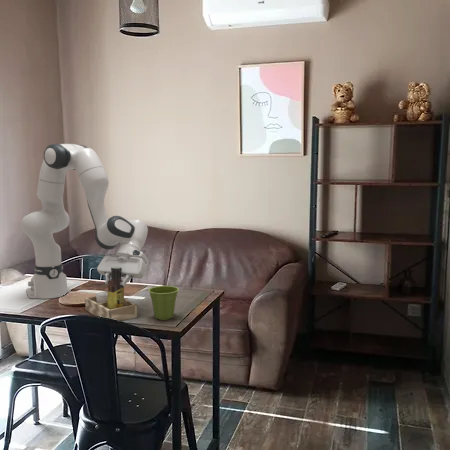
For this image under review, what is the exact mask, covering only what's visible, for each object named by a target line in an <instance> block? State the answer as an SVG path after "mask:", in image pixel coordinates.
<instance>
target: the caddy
mask: <svg viewBox="0 0 450 450" xmlns="http://www.w3.org/2000/svg"><path fill="white" fill-rule="evenodd" d="M107 304H108V302H103V303H97V300H96V295H95V296H89V297H85V298H84V305H85V307H84V308H85V309H84V310H85V311H87V312H88V313H90V314H92V315H94V316H95V317H97V316H101V317H106V318H110V319H116V320H121V321H120V322H122V321H127V320H130V319H135V318H138V304H136V303H134V302H132V301H130V300H128V299H126V298H124V307H120V308H116V309H111V310H110V309H108V308H107Z"/></svg>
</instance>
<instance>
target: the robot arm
mask: <svg viewBox="0 0 450 450" xmlns="http://www.w3.org/2000/svg"><path fill="white" fill-rule="evenodd" d="M70 170H73V171H75V172H76V173H77V176H78V178H79V181H80V183H81V186H82V189H83V191H84V195H85V199H86V202H87V207H88V210H89V213H90V217H91V219H92V222H93V224H94V228H95V229H94V230H95V241H96V243H97V245H98V246H99V247H100V248H102V249H104V250H114V249H115V248H117V247H118V245H119V247H118V249H117V251H116V253H115V254H111V253H108V254H106V255H104V256H103V258H102V259H101V261H100V262H99V264H98V265H97V267H96V269H97V272H98V273H99V274H100V275H101V276H105V281H104V284H105V285H106V286H108V284H109V282H110V280H111V267H114V266H119V267H121V268H122V271H121V278H124V279H122V280H121V283H120V285H121V286H124V287H126V285H127V283H129V282H130V281H131V279H140V280H141V279H142V278H144V277H145V274H146V272H147V268H148V267H147V266H148V263H149V259H148V258H147V256H146V255H145V253H144V252H143V251H141V250H142V248H143V247H144V245H145V243H146V240H147V236H148V232H149V227H148V226H147V224H146V223H145V222H144V221H142V220H141V219H137V218H134V219H128V218H125V217H123V216H121V215H112V216H111V217H109V218H108V213H107V211H106V208H105V197H106V194H107V191H108V188H109V183H110V181H109V177H108V174H107V170H106V168H105V166H104V165H103V163H102V160H101V158H100V157H99V155H98V154H97V152H96V151H95V150H94V149H92V148H91V147H88V146H86V145H82V144H75V143H51V144H49V145H47V146H46V147H45V149H44V152H43V160H42V164H41V166H40V170H39V176H38V183H37V188H36V197H37V198H38V200H40V201H41V210H38V211H32V212H31V213H29V214H26V215H24V216H23V218H22V220H21V222H20V227H21V230H22V231H23V234H25V235H26V236H28V237H29V239H30V241H31V243H32V246H33V249H34V258H35V265H34V275H32V277H31V278H30V281H27V287H28V288H26V289H25V292H26V294H27V296H29V297H28V298H29V299H40V300H41V299H42V300H43V299H44V300H45V299H48V300H49V299H56V298H60V297H63V295H64V296H66V295H67V294H68V293H71V288H70V287H68V280H67V275H66V274H65V273H64V272H63V271H64V266H63V263H62V249H61V246H60V245H59V244H58V243H57V242H56V241H55V239H54V235H53V234H54V233H55V234H56V233H59V232H61V231H64V230H65V229H66V228H67V227H69V224H70V221H71V219H70V216H69V214H68V212H67V211H66V210H65V206H64V205H65V204H64V192H65V185H66V184H65V183H66V178H67V176H66V175H67V172H68V171H70ZM67 292H68V293H67ZM66 293H67V294H66ZM65 294H66V295H65Z"/></svg>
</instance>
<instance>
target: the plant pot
mask: <svg viewBox="0 0 450 450" xmlns="http://www.w3.org/2000/svg"><path fill="white" fill-rule="evenodd" d="M147 291H148V292H149V296H150V299H151V304H152V310H153V315H154V318H155V319H156V320H161V321H164V320H165V321H166V320H167V321H168V320H170V319H173V318H174V315H175V308H176V299H177V297H178V292H179V291H180V288H178V287H177V286H171V285H158V286H154V287H151V288H149V289H148V290H147Z"/></svg>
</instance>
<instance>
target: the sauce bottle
mask: <svg viewBox="0 0 450 450" xmlns="http://www.w3.org/2000/svg"><path fill="white" fill-rule="evenodd" d="M121 271H122V268H121V267H119V266H114V267H111V278H110V282H109V284H108V285H107V292H108V304H107V308H108V309H110V310H111V309H116V308H120V307H124V299H125V298H124V297H125V286H121V285H120V283H121V280H123V279H122V277H121Z"/></svg>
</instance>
